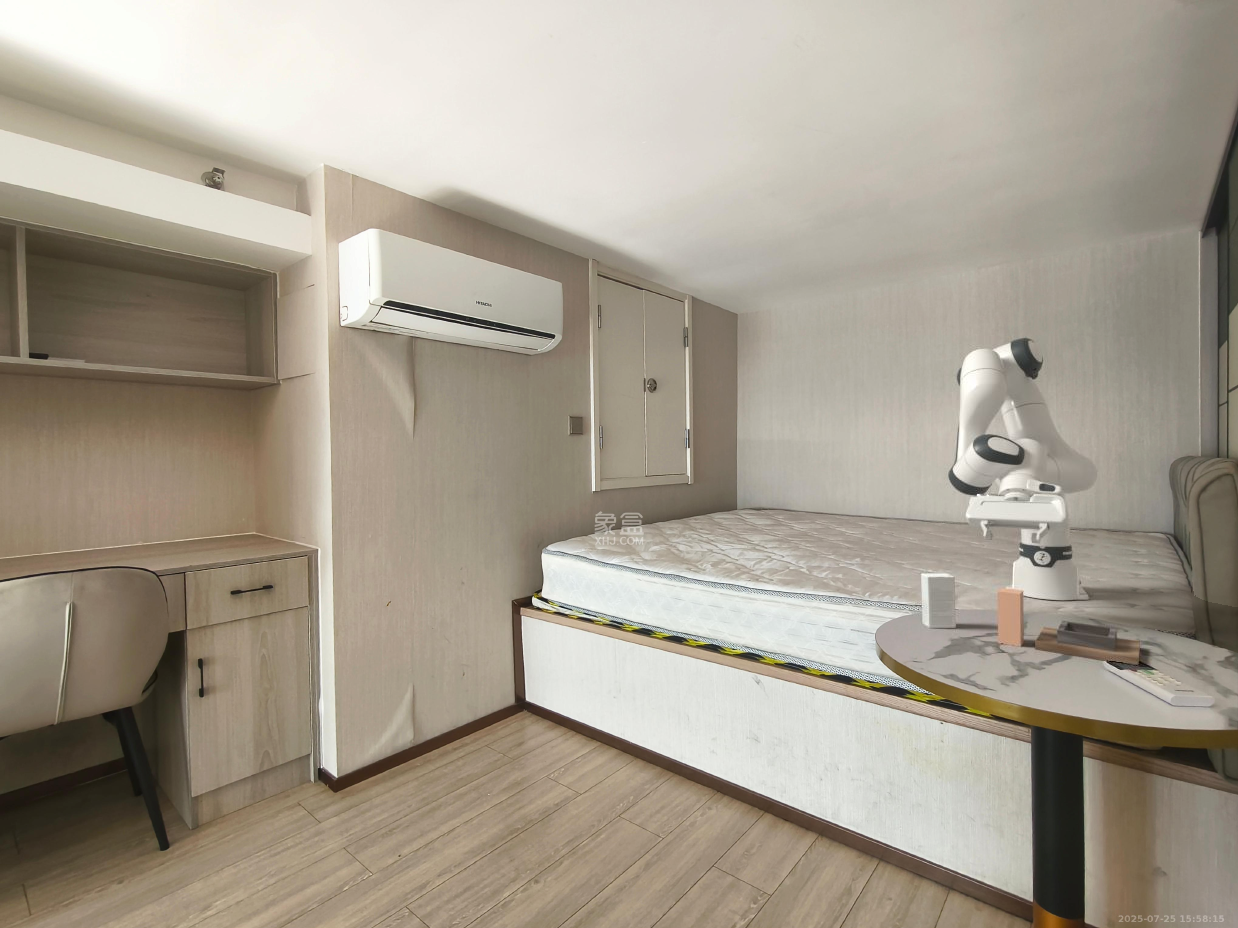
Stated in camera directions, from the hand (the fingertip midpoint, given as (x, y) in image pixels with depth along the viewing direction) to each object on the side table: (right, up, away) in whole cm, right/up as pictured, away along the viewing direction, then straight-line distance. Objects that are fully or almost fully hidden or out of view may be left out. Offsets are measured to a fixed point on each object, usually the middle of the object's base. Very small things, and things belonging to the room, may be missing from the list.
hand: (1010, 540), depth 137 cm
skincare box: (-15, -21, +3) cm, 26 cm away
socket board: (+6, -20, -15) cm, 26 cm away
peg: (-6, -20, -10) cm, 24 cm away
